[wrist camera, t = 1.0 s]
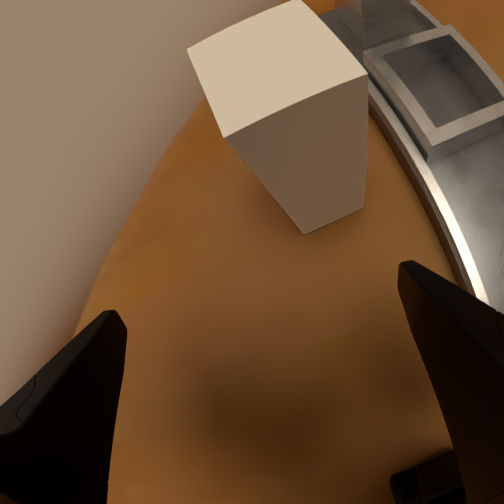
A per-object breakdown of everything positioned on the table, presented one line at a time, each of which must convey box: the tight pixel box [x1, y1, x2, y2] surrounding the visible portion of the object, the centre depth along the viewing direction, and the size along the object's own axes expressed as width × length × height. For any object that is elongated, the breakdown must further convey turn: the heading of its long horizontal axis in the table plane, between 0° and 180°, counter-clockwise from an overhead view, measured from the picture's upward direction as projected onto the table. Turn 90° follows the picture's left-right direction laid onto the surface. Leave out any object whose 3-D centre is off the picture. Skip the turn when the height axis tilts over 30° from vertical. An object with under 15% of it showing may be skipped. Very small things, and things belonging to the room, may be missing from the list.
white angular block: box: [187, 0, 368, 235], centre depth 14 cm, size 5×4×12 cm
